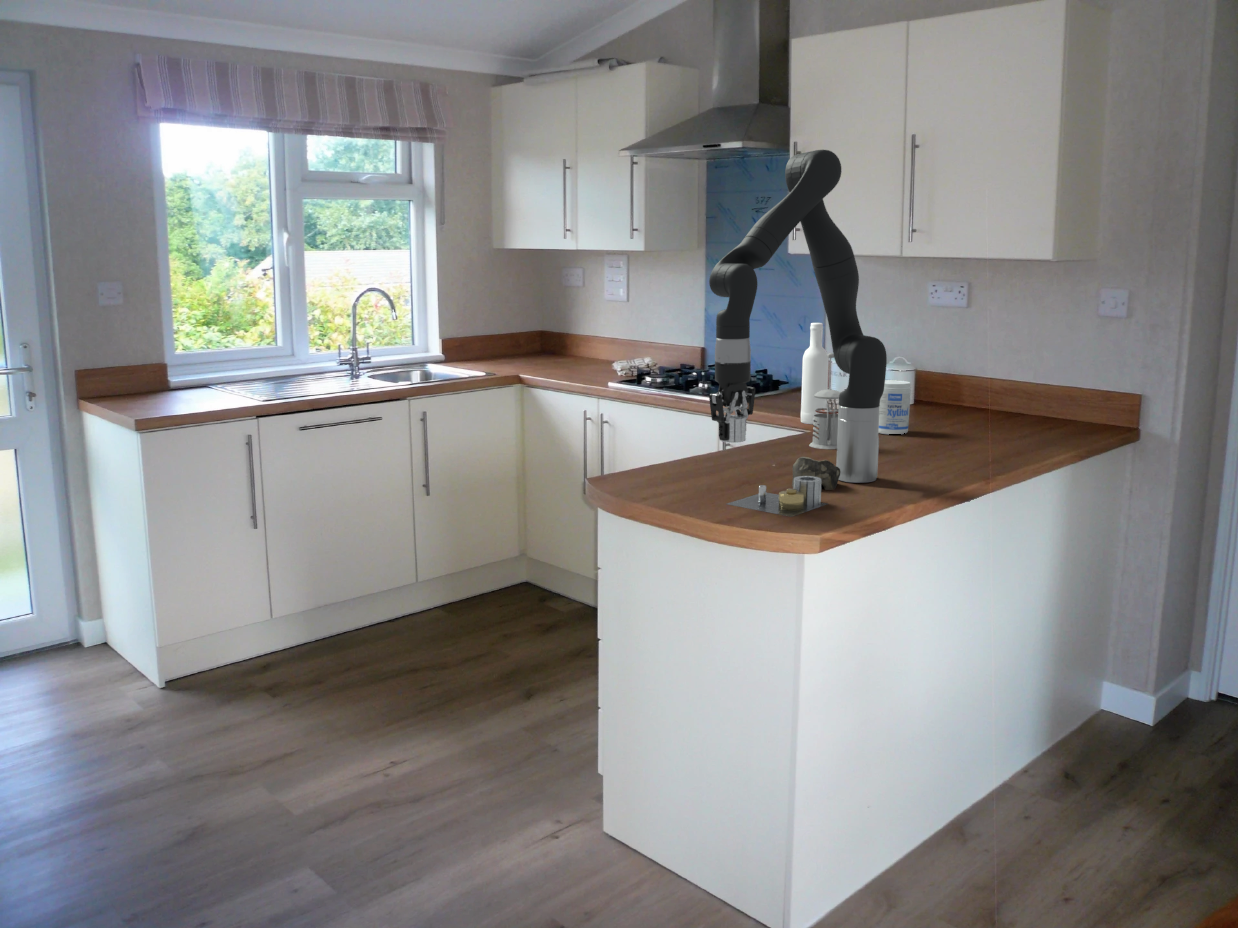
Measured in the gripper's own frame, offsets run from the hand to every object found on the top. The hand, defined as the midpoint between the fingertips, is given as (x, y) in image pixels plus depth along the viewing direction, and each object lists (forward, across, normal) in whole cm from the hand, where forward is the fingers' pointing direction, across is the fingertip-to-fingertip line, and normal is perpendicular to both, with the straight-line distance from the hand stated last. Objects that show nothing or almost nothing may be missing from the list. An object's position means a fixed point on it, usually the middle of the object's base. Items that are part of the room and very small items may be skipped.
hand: (732, 437), depth 231 cm
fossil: (+14, -17, +10) cm, 24 cm away
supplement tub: (+14, -94, -11) cm, 95 cm away
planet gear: (+1, 0, 0) cm, 1 cm away
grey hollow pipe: (+12, -2, +18) cm, 21 cm away
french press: (+14, -64, -14) cm, 67 cm away
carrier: (+13, +3, +14) cm, 19 cm away
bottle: (+14, -95, -37) cm, 103 cm away
